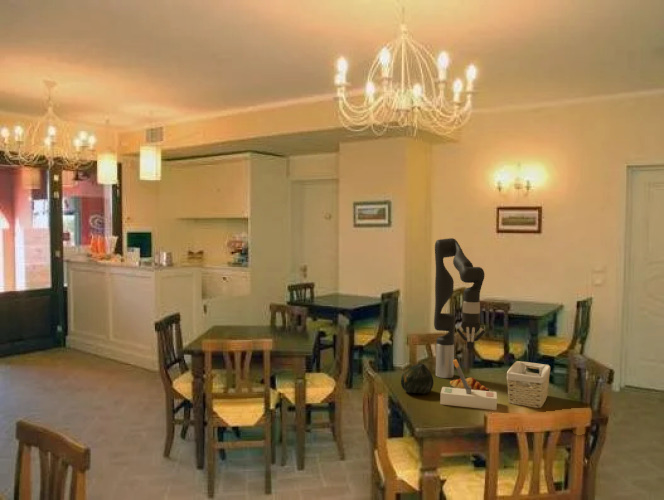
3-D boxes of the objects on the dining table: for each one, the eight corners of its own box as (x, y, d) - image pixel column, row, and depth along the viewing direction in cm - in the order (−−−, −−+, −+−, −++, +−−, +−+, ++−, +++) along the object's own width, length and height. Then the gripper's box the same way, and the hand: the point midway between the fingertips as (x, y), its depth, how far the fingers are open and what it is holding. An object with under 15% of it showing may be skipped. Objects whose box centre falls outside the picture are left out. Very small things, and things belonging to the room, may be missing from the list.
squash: (395, 376, 267) (404, 358, 257) (423, 375, 271) (433, 358, 261) (402, 402, 257) (411, 384, 247) (431, 401, 261) (442, 384, 251)
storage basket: (542, 410, 237) (543, 376, 236) (504, 403, 245) (505, 371, 244) (550, 395, 258) (551, 364, 257) (514, 390, 266) (515, 360, 265)
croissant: (446, 394, 269) (442, 381, 266) (456, 380, 275) (452, 368, 272) (486, 403, 254) (482, 390, 252) (495, 389, 261) (491, 376, 258)
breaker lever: (466, 390, 245) (453, 360, 246) (470, 389, 245) (456, 359, 246) (466, 391, 243) (452, 361, 244) (469, 390, 242) (456, 360, 244)
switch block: (443, 391, 262) (444, 376, 261) (496, 396, 255) (496, 381, 254) (440, 404, 243) (440, 388, 242) (496, 410, 236) (496, 394, 236)
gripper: (486, 310, 245) (485, 348, 246) (456, 309, 249) (455, 346, 250) (486, 313, 238) (485, 352, 239) (455, 311, 242) (454, 350, 243)
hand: (470, 349), depth 245 cm, fingers closed
